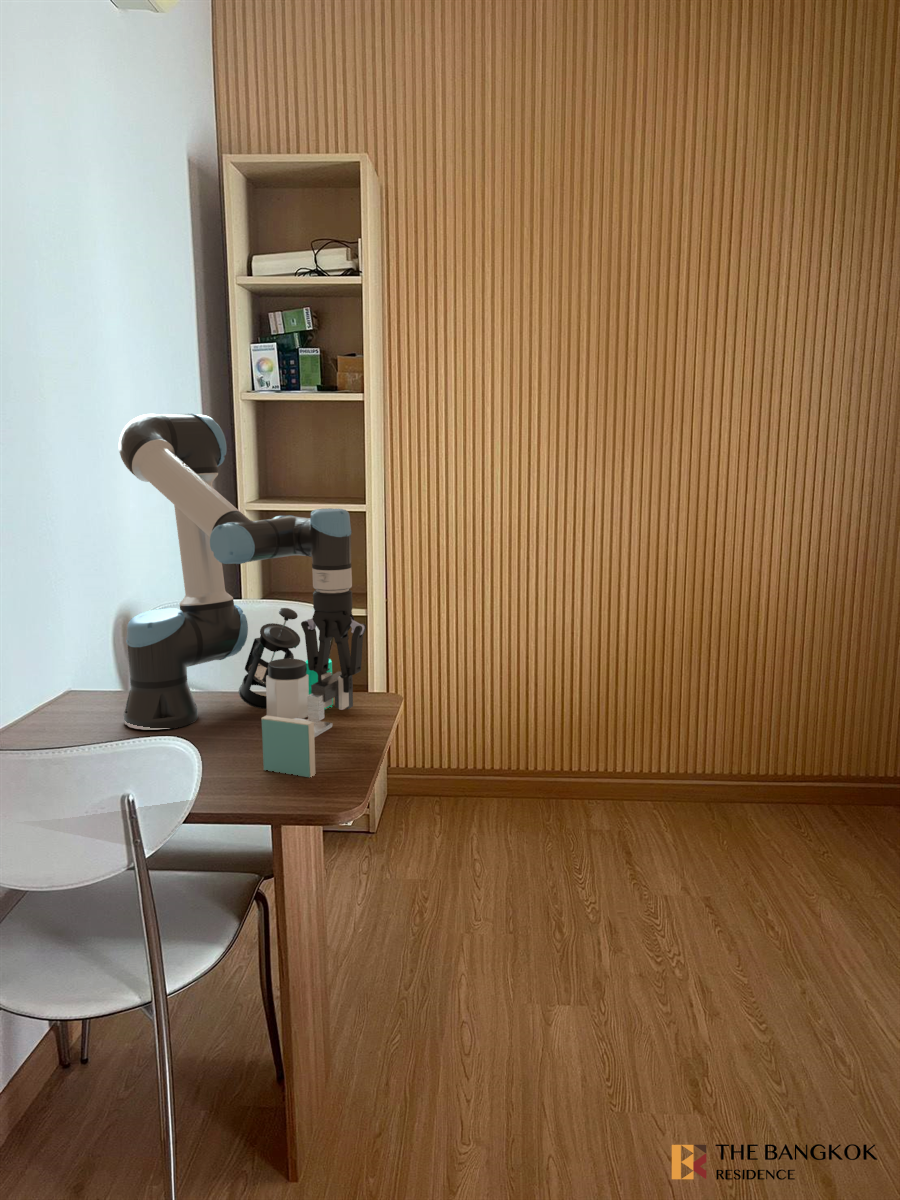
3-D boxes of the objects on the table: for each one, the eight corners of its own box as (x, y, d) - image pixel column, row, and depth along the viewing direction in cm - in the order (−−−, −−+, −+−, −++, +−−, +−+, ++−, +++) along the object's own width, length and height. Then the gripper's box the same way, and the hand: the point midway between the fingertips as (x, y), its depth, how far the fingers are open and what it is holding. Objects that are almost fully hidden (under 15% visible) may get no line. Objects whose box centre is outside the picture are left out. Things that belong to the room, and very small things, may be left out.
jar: (315, 718, 207) (314, 664, 204) (281, 726, 202) (280, 670, 199) (294, 708, 214) (293, 656, 211) (261, 715, 208) (259, 661, 206)
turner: (329, 703, 196) (328, 670, 194) (364, 707, 193) (363, 673, 191) (275, 732, 177) (274, 696, 176) (313, 738, 174) (312, 700, 173)
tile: (268, 767, 178) (266, 715, 176) (315, 774, 174) (313, 721, 172) (262, 770, 176) (260, 718, 174) (310, 778, 172) (308, 724, 171)
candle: (316, 700, 220) (314, 649, 218) (338, 704, 217) (337, 652, 215) (300, 707, 215) (299, 655, 212) (323, 711, 212) (321, 658, 210)
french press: (289, 706, 217) (320, 623, 207) (255, 714, 210) (285, 628, 200) (260, 675, 223) (289, 593, 213) (226, 682, 216) (254, 597, 206)
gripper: (286, 590, 185) (290, 707, 189) (360, 595, 179) (363, 716, 183) (306, 583, 192) (309, 697, 196) (378, 588, 186) (380, 705, 190)
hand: (335, 706), depth 190 cm, fingers closed on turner, 3 cm apart
